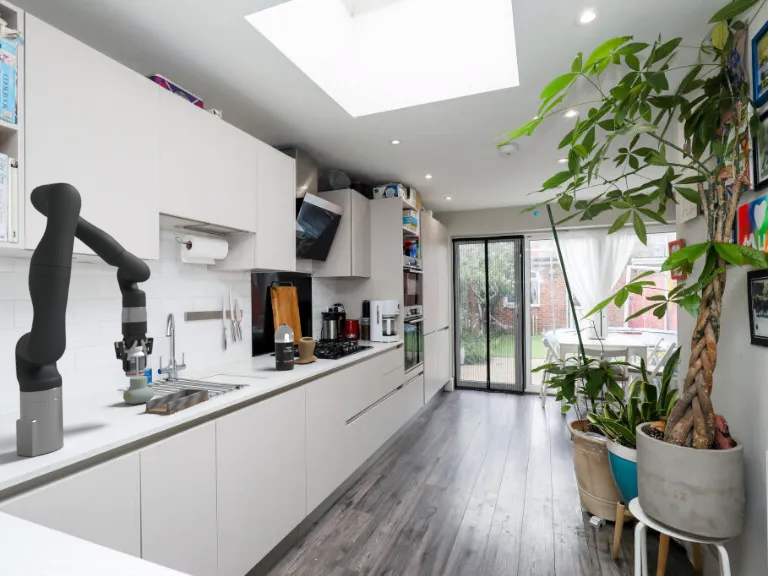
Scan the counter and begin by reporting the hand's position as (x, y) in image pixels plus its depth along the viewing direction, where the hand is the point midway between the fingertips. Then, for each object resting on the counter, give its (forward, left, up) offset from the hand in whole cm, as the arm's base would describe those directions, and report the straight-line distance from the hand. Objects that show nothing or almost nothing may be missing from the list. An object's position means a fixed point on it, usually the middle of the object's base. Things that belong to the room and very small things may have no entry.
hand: (135, 369), depth 142 cm
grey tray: (+17, -2, -17) cm, 24 cm away
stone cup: (+111, -9, -17) cm, 113 cm away
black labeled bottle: (+90, -6, -17) cm, 92 cm away
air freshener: (+18, +18, -17) cm, 31 cm away
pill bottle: (0, 0, -2) cm, 2 cm away
